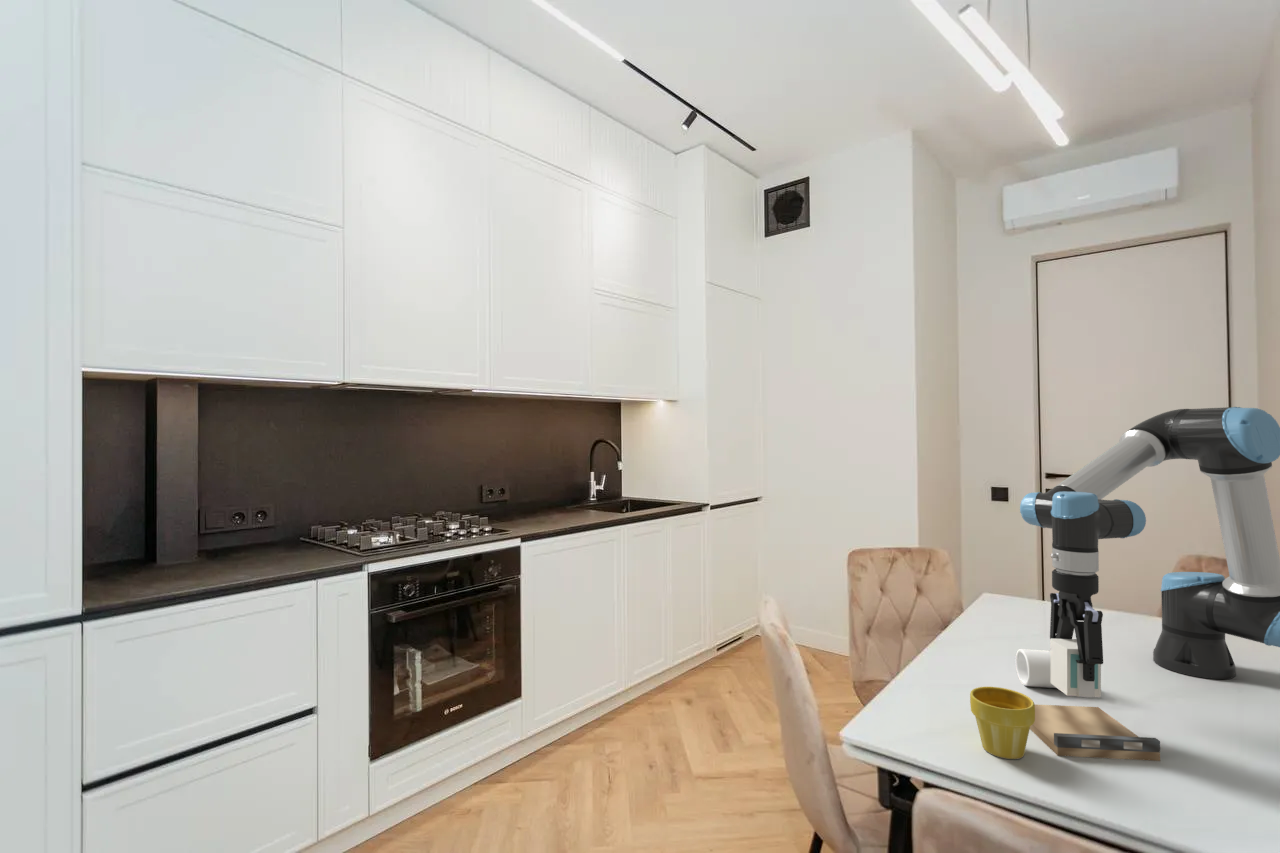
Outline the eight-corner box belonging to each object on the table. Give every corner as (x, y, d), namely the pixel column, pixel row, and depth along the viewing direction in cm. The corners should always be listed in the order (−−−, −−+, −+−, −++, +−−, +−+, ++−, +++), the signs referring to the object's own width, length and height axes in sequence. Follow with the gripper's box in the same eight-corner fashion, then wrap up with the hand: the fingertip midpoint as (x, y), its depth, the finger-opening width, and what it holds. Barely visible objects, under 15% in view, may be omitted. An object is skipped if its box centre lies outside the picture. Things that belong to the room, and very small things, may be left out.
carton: (1050, 682, 126) (1050, 638, 126) (1082, 684, 125) (1082, 639, 125) (1067, 695, 120) (1067, 649, 120) (1101, 697, 119) (1101, 650, 119)
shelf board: (1098, 714, 128) (1098, 697, 128) (1160, 761, 110) (1160, 741, 110) (1010, 710, 130) (1010, 693, 130) (1058, 756, 112) (1057, 736, 112)
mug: (1078, 695, 138) (1078, 659, 138) (1029, 691, 140) (1028, 656, 140) (1054, 674, 150) (1054, 640, 150) (1008, 671, 152) (1008, 638, 152)
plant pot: (958, 737, 119) (958, 686, 119) (1009, 735, 120) (1009, 684, 120) (993, 767, 109) (993, 711, 109) (1049, 763, 110) (1049, 708, 110)
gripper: (1029, 560, 133) (1030, 668, 132) (1083, 582, 113) (1083, 709, 113) (1067, 561, 132) (1068, 670, 132) (1127, 583, 112) (1128, 711, 112)
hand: (1075, 688), depth 122 cm, fingers closed on carton, 6 cm apart
